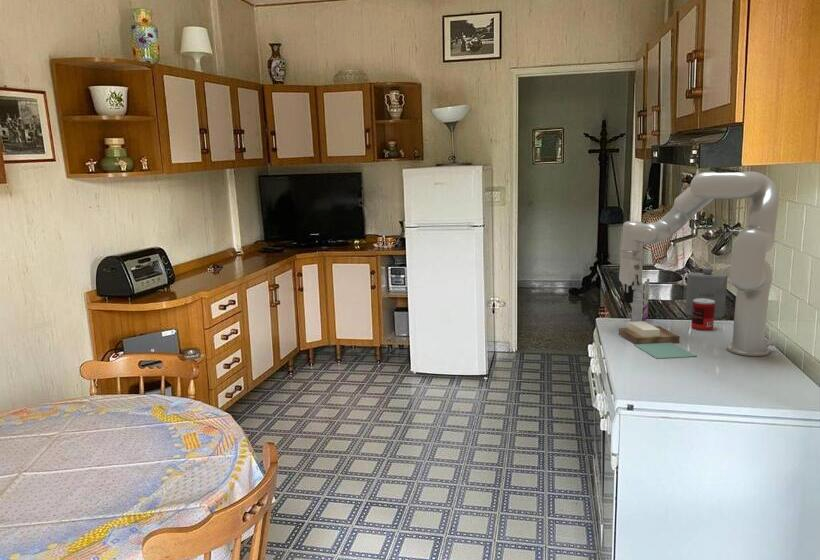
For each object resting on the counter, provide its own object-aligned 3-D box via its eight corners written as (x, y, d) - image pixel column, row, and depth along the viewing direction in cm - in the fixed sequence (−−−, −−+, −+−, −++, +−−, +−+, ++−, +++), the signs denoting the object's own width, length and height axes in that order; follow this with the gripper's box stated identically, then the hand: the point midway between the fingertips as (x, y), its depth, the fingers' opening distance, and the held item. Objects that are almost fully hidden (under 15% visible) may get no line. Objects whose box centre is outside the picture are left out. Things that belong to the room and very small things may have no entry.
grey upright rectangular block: (685, 316, 262) (688, 268, 259) (684, 313, 268) (687, 266, 264) (725, 318, 257) (729, 270, 254) (723, 315, 263) (727, 268, 259)
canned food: (713, 327, 245) (715, 299, 243) (712, 331, 238) (714, 303, 236) (692, 324, 249) (693, 297, 247) (690, 329, 242) (692, 301, 240)
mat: (671, 343, 224) (671, 342, 224) (696, 356, 209) (696, 355, 209) (633, 345, 223) (633, 344, 223) (656, 358, 207) (656, 358, 207)
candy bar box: (635, 316, 264) (637, 277, 261) (648, 317, 262) (650, 278, 259) (630, 321, 255) (632, 281, 252) (643, 323, 252) (645, 282, 249)
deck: (659, 332, 238) (659, 326, 238) (679, 342, 225) (679, 336, 224) (618, 334, 237) (619, 328, 236) (636, 345, 223) (636, 338, 222)
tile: (643, 327, 236) (643, 321, 236) (659, 336, 224) (660, 329, 224) (628, 328, 236) (628, 321, 235) (643, 337, 224) (643, 330, 223)
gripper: (650, 257, 230) (646, 306, 234) (631, 251, 245) (628, 297, 248) (631, 258, 229) (627, 307, 233) (613, 251, 244) (610, 298, 247)
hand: (627, 302), depth 241 cm, fingers closed
